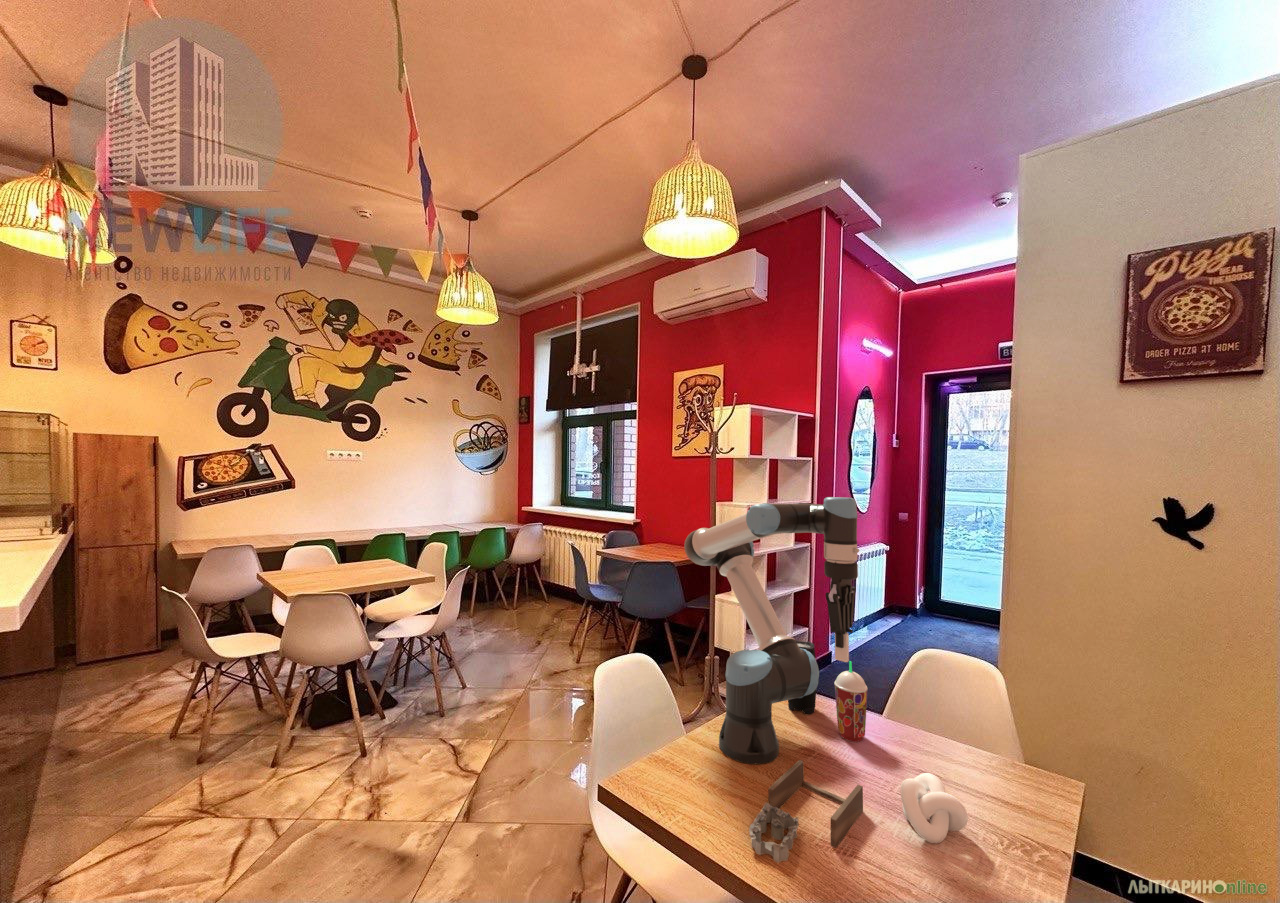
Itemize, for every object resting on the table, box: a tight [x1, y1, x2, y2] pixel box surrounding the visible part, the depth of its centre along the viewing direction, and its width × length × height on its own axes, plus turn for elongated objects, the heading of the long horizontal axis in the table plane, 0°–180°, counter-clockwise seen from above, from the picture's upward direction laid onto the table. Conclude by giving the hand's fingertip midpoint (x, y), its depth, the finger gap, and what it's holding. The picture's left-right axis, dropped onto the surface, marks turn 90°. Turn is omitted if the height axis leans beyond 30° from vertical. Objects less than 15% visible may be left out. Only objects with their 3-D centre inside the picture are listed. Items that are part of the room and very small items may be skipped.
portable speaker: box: [787, 639, 817, 715], centre depth 149 cm, size 9×9×20 cm
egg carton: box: [748, 801, 799, 864], centre depth 93 cm, size 11×8×4 cm
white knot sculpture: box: [900, 772, 969, 844], centre depth 98 cm, size 11×12×9 cm
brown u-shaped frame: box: [768, 759, 864, 849], centre depth 102 cm, size 14×14×5 cm
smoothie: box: [834, 660, 868, 743], centre depth 133 cm, size 8×8×20 cm
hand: (842, 660), depth 117 cm, fingers closed
